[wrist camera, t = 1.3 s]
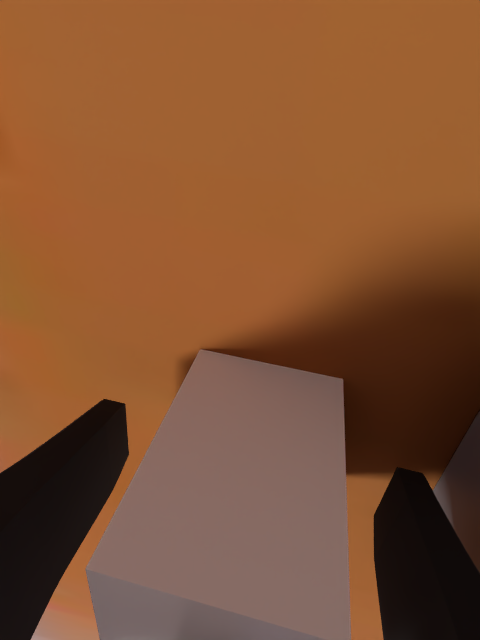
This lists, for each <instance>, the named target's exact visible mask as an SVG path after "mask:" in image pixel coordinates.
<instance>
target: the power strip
mask: <svg viewBox="0 0 480 640" xmlns="http://www.w3.org/2000/svg"><path fill="white" fill-rule="evenodd" d="M433 492H434V494H435V496H436V498H437V500H438V502H439V503H440V505H441V507H442V509H443V511H444V512H445V514H446V516H447V518H448V520H449V521H450V523H451V525H452V527H453V529H454V530H455V532H456V534H457V536H458V537H459V539H460V541H461V542H462V544H463V546H464V548H465V549H466V551H467V553H468V554H469V556H470V558H471V559H472V561H473V563H474V564H475V566H476V568H477V569H478V571H479V573H480V410H479V412H478V414H477V416H476V417H475V419H474V421H473V423H472V424H471V426H470V428H469V429H468V431H467V433H466V435H465V436H464V438H463V440H462V441H461V443H460V445H459V447H458V448H457V450H456V452H455V453H454V455H453V457H452V459H451V460H450V462H449V464H448V465H447V467H446V469H445V471H444V472H443V474H442V476H441V478H440V479H439V481H438V483H437V484H436V486H435V488H434V490H433Z"/></svg>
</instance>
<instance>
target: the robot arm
mask: <svg viewBox="0 0 480 640" xmlns="http://www.w3.org/2000/svg"><path fill="white" fill-rule="evenodd" d="M128 455H129V449H128V436H127V422H126V408H125V404H124V403H120V402H116V401H111V400H107V399H103V400H102V401H100V402H99V403H98V404H96V405H95V406H94V407H92V408H91V409H90V410H88V411H87V412H86V413H84V414H83V415H82V416H80V417H79V418H78V419H76V420H75V421H74V422H72V423H71V424H70V425H68V426H67V427H66V428H64V429H63V430H62V431H60V432H59V433H58V434H56V435H55V436H53V437H52V438H51V439H49V440H48V441H47V442H45V443H44V444H42V445H41V446H40V447H38V448H37V449H35V450H34V451H33V452H31V453H30V454H28V455H27V456H25V457H24V458H23V459H21V460H20V461H18V462H17V463H15V464H14V465H12V466H10V467H9V468H7V469H6V470H4V471H3V472H1V473H0V640H31V638H32V635H33V633H34V631H35V629H36V627H37V625H38V623H39V621H40V619H41V617H42V615H43V613H44V611H45V609H46V607H47V605H48V603H49V600H50V598H51V596H52V594H53V592H54V590H55V588H56V587H57V585H58V583H59V581H60V579H61V578H62V576H63V574H64V572H65V570H66V569H67V567H68V565H69V564H70V562H71V560H72V559H73V557H74V555H75V553H76V552H77V550H78V548H79V547H80V545H81V543H82V542H83V540H84V538H85V537H86V535H87V533H88V532H89V530H90V528H91V527H92V525H93V523H94V522H95V520H96V518H97V516H98V515H99V513H100V511H101V510H102V508H103V506H104V504H105V503H106V501H107V499H108V498H109V496H110V494H111V492H112V491H113V489H114V486H115V484H116V482H117V480H118V478H119V476H120V474H121V471H122V469H123V467H124V464H125V462H126V460H127V457H128ZM374 562H375V571H376V580H377V588H378V597H379V605H380V613H381V621H382V630H383V638H384V640H480V573H479V571H478V569H477V568H476V566H475V564H474V563H473V561H472V559H471V558H470V556H469V554H468V553H467V551H466V549H465V548H464V546H463V544H462V542H461V541H460V539H459V537H458V536H457V534H456V532H455V530H454V529H453V527H452V525H451V523H450V521H449V520H448V518H447V516H446V514H445V512H444V511H443V509H442V507H441V505H440V503H439V502H438V500H437V498H436V496H435V494H434V492H433V491H432V489H431V487H430V485H429V483H428V481H427V480H426V478H425V476H424V475H423V473H420V472H416V471H411V470H407V469H403V468H398V467H397V468H396V470H395V473H394V475H393V477H392V479H391V481H390V483H389V485H388V487H387V489H386V491H385V493H384V495H383V498H382V500H381V502H380V504H379V506H378V508H377V510H376V512H375V514H374Z"/></svg>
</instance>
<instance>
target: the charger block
mask: <svg viewBox="0 0 480 640" xmlns="http://www.w3.org/2000/svg"><path fill="white" fill-rule="evenodd" d="M86 574H87V579H88V584H89V589H90V593H91V598H92V603H93V608H94V613H95V618H96V622H97V627H98V632H99V637H100V640H351V623H350V590H349V557H348V524H347V491H346V458H345V425H344V392H343V379H341V378H336V377H331V376H327V375H322V374H317V373H312V372H307V371H303V370H298V369H293V368H288V367H284V366H279V365H274V364H269V363H264V362H260V361H255V360H250V359H245V358H241V357H236V356H231V355H226V354H221V353H217V352H212V351H207V350H202V349H200V350H199V352H198V354H197V356H196V358H195V360H194V362H193V364H192V366H191V368H190V370H189V371H188V373H187V375H186V377H185V379H184V381H183V383H182V385H181V387H180V389H179V391H178V393H177V394H176V396H175V398H174V400H173V402H172V404H171V406H170V408H169V410H168V412H167V414H166V416H165V417H164V419H163V421H162V423H161V425H160V427H159V429H158V431H157V433H156V435H155V437H154V439H153V440H152V442H151V444H150V446H149V448H148V450H147V452H146V454H145V456H144V458H143V460H142V462H141V463H140V465H139V467H138V469H137V471H136V473H135V475H134V477H133V479H132V481H131V483H130V485H129V486H128V488H127V490H126V492H125V494H124V496H123V498H122V500H121V502H120V504H119V506H118V508H117V509H116V511H115V513H114V515H113V517H112V519H111V521H110V523H109V525H108V527H107V529H106V531H105V532H104V534H103V536H102V538H101V540H100V542H99V544H98V546H97V548H96V550H95V552H94V554H93V555H92V557H91V559H90V561H89V563H88V565H87V567H86Z"/></svg>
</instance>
